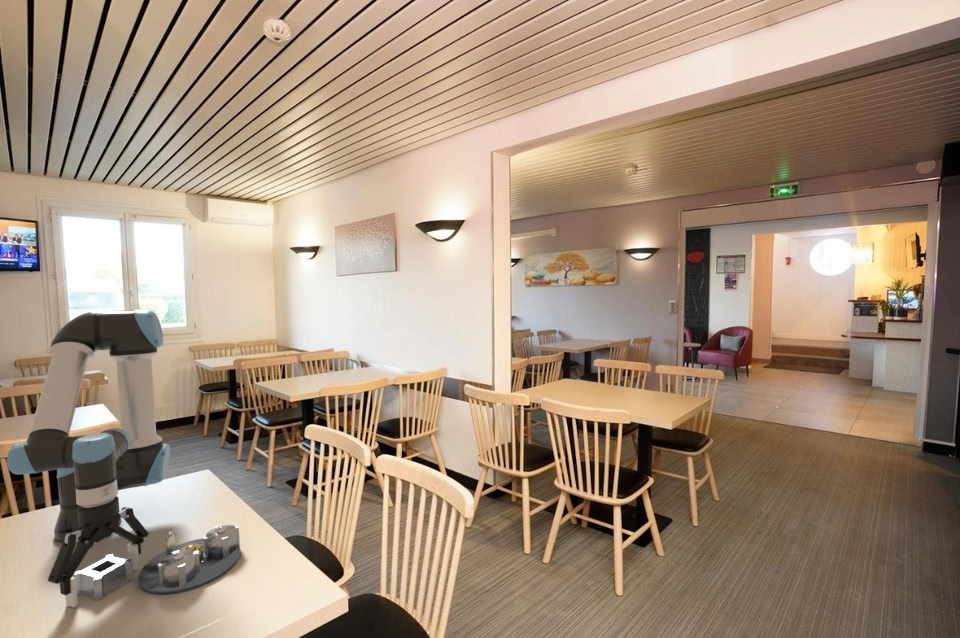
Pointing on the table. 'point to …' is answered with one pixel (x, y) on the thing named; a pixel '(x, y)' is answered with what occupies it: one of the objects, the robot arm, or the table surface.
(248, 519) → the table surface
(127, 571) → the grey square frame
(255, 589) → the table surface
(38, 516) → the table surface
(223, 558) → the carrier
